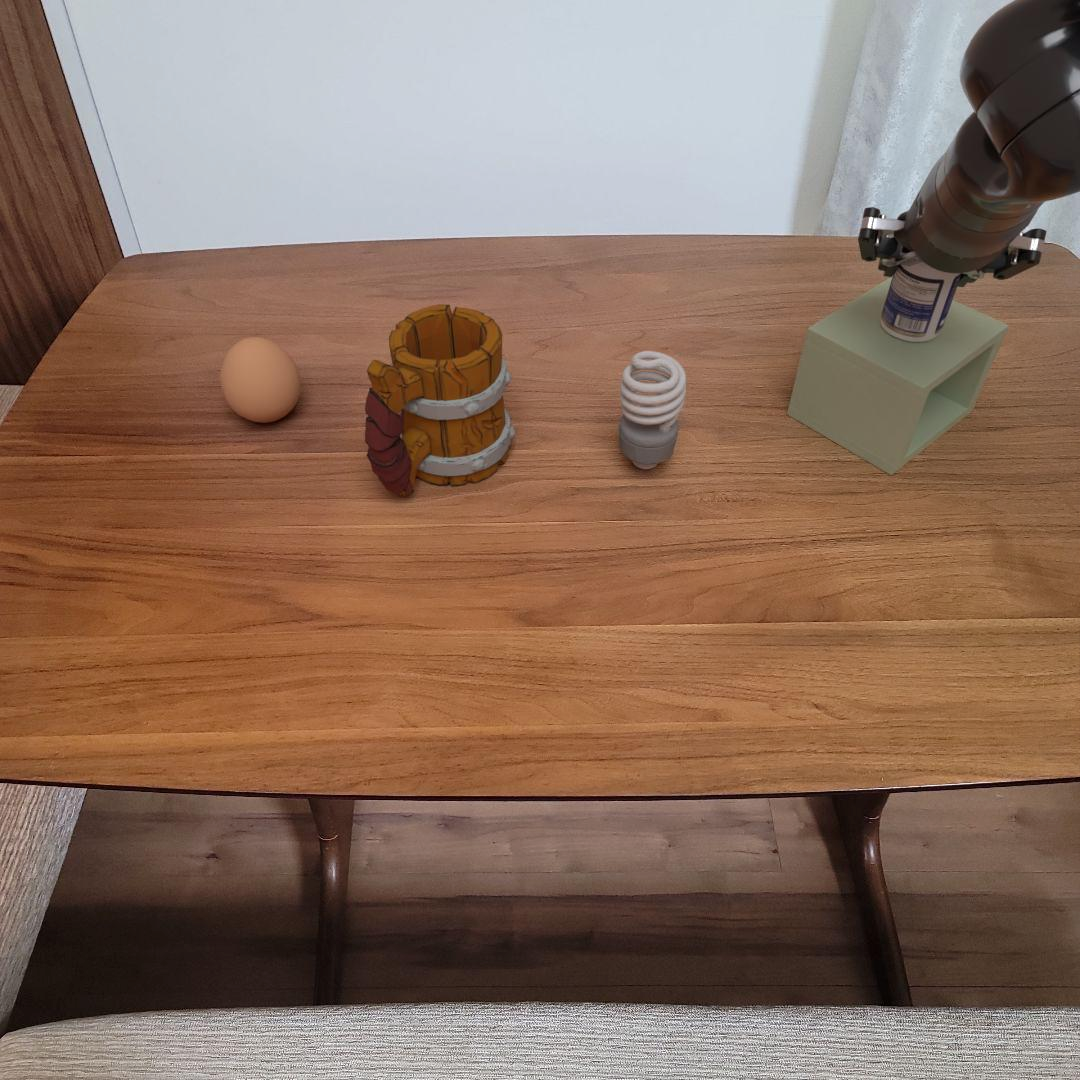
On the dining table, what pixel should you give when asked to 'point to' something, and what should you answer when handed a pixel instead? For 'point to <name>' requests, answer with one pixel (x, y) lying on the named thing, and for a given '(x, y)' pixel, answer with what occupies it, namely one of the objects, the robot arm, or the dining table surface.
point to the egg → (260, 380)
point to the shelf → (891, 379)
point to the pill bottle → (918, 302)
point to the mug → (439, 401)
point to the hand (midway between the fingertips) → (924, 270)
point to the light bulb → (650, 408)
